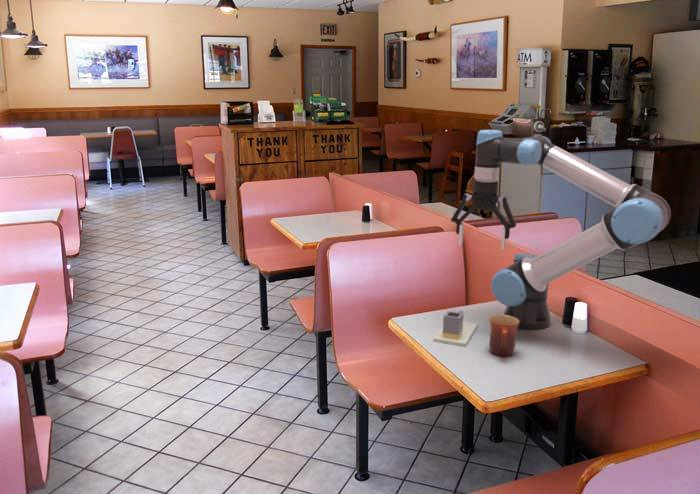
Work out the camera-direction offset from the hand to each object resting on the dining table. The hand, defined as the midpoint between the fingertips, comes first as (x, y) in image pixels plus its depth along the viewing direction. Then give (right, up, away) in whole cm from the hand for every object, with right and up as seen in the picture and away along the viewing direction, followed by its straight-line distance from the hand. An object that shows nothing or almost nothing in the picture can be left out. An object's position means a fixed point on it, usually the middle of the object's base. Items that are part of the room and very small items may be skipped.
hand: (481, 246), depth 203 cm
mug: (+2, -32, -17) cm, 36 cm away
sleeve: (-10, -28, -6) cm, 30 cm away
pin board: (-8, -28, -2) cm, 29 cm away
